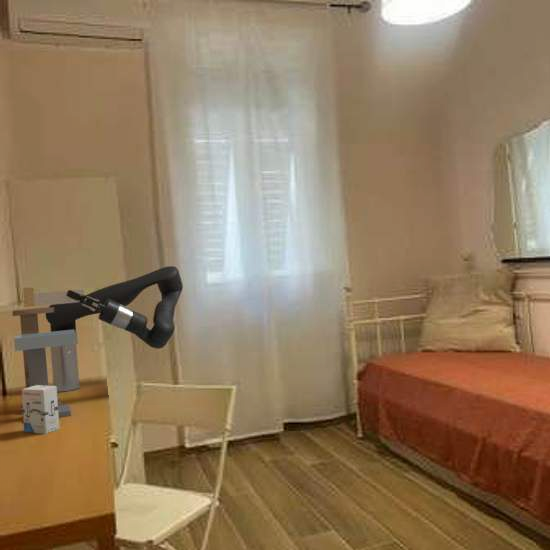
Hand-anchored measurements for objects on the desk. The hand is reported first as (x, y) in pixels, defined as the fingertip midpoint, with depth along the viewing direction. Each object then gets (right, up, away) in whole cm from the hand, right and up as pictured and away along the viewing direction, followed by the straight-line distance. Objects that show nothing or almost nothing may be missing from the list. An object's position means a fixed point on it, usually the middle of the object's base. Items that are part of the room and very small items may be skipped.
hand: (67, 292), depth 192 cm
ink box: (+5, -36, -34) cm, 50 cm away
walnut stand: (-7, -37, -4) cm, 38 cm away
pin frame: (+1, -36, -15) cm, 39 cm away
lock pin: (-4, -4, -2) cm, 5 cm away
